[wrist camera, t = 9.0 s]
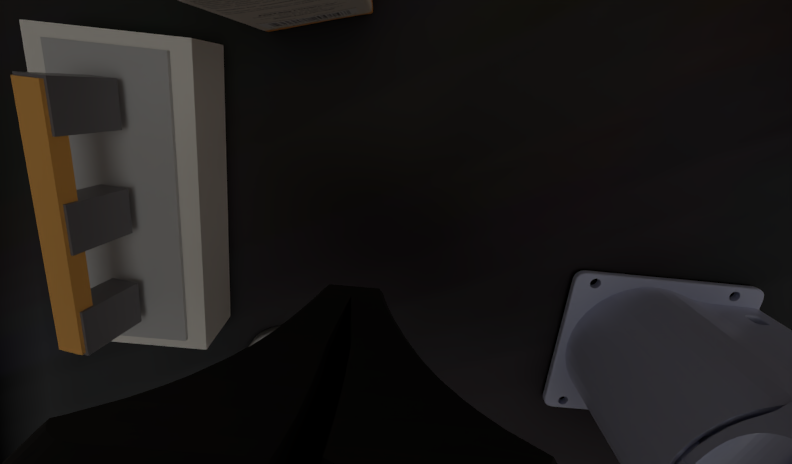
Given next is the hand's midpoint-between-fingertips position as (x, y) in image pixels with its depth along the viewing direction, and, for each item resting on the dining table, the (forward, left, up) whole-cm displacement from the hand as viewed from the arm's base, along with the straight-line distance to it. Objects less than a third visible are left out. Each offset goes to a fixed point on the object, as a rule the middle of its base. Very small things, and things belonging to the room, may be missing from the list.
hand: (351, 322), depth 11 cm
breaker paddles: (+10, 0, -7) cm, 12 cm away
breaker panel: (+10, 0, -10) cm, 14 cm away
